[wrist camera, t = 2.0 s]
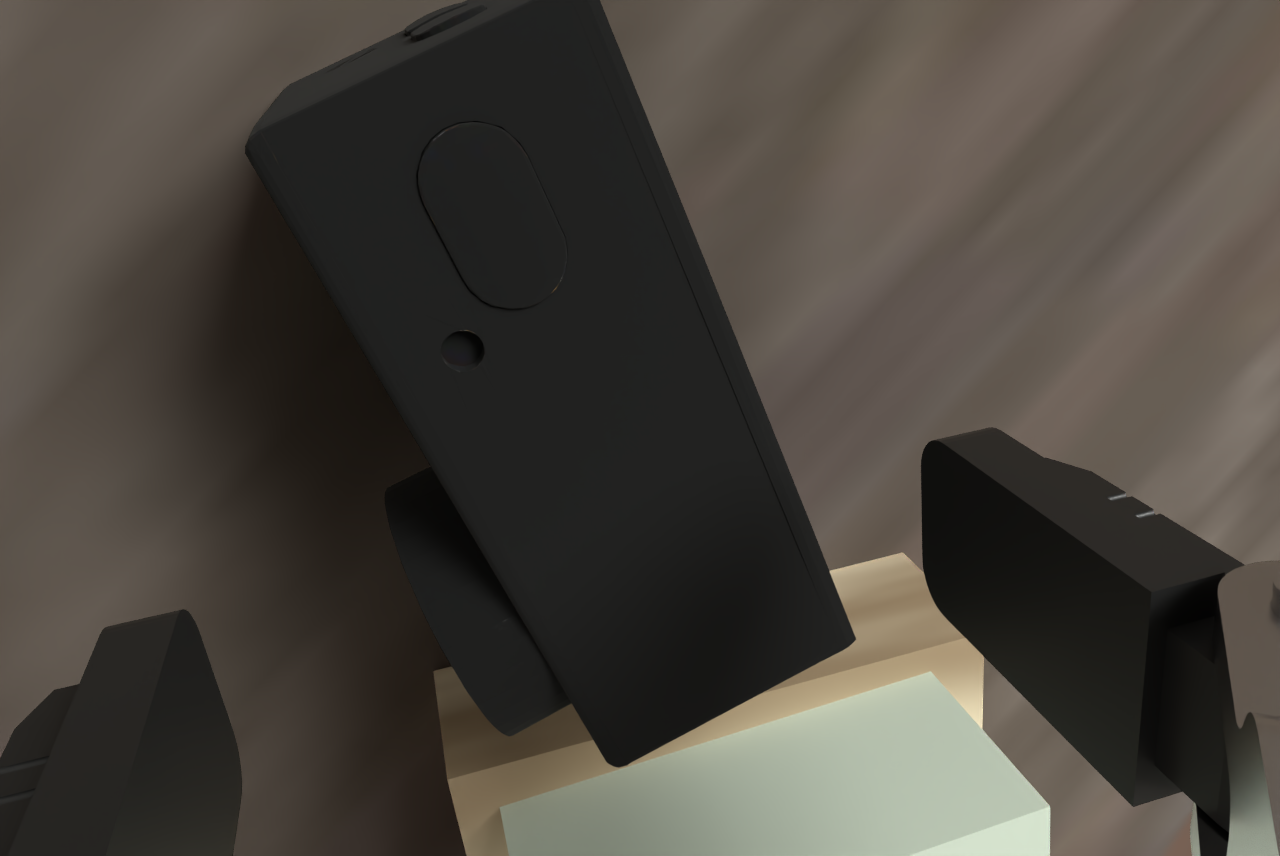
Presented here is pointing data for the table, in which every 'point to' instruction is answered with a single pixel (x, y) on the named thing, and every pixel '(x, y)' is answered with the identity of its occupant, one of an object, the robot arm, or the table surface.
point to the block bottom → (566, 753)
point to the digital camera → (552, 376)
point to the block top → (806, 790)
